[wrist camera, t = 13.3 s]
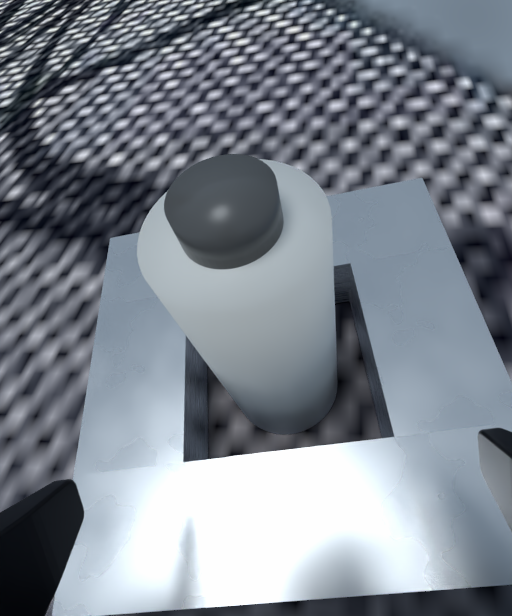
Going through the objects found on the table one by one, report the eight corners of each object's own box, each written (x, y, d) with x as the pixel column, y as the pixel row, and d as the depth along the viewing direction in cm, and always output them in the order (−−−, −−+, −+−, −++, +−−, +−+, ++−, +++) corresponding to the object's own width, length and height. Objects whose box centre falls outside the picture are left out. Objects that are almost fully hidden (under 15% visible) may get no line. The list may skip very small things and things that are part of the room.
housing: (546, 572, 13) (596, 577, 10) (102, 606, 14) (51, 619, 12) (412, 223, 21) (422, 177, 18) (136, 273, 22) (110, 238, 20)
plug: (323, 448, 16) (295, 304, 7) (220, 417, 17) (76, 263, 8) (347, 347, 18) (352, 127, 9) (253, 327, 19) (170, 120, 10)
